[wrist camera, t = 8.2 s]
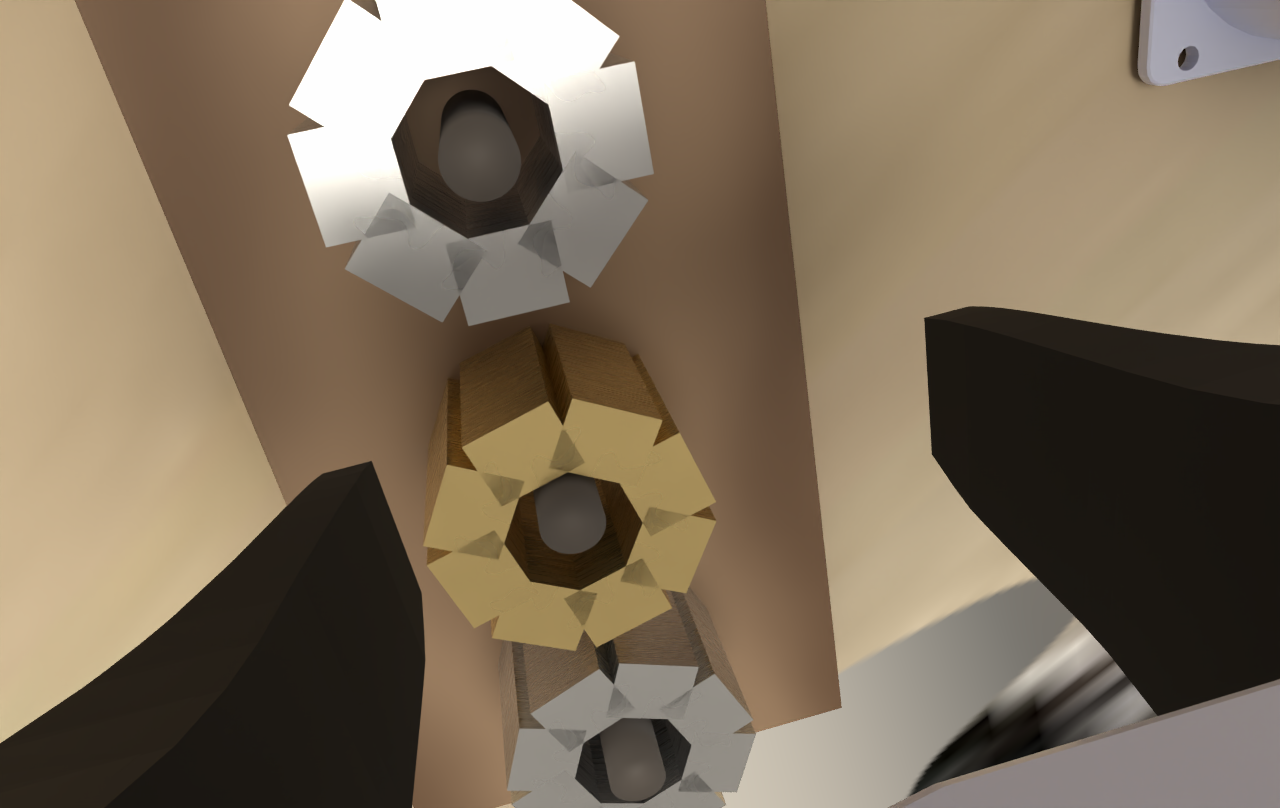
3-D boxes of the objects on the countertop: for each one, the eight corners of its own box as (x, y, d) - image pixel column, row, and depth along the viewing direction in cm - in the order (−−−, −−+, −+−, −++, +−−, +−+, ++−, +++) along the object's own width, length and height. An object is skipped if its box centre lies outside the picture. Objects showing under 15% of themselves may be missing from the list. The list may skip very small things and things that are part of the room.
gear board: (720, -194, 17) (842, -282, 12) (822, 672, 27) (914, 841, 21) (75, -75, 16) (-115, -111, 11) (423, 784, 26) (416, 994, 20)
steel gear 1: (577, -54, 16) (612, -69, 13) (629, 224, 19) (671, 278, 15) (290, 3, 16) (242, 4, 12) (379, 280, 18) (362, 350, 14)
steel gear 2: (634, 518, 21) (671, 621, 18) (739, 648, 24) (790, 763, 20) (459, 635, 22) (460, 759, 18) (579, 752, 24) (601, 883, 21)
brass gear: (696, 362, 20) (749, 440, 17) (623, 554, 22) (657, 662, 18) (469, 301, 19) (472, 374, 15) (409, 513, 20) (400, 624, 17)
